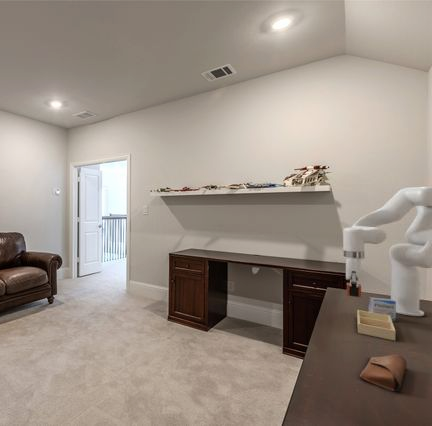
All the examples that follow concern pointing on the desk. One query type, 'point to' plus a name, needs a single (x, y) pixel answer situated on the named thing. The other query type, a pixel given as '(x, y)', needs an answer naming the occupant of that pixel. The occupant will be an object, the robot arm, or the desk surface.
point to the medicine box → (383, 306)
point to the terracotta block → (358, 287)
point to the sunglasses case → (385, 371)
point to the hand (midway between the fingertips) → (353, 294)
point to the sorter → (375, 325)
